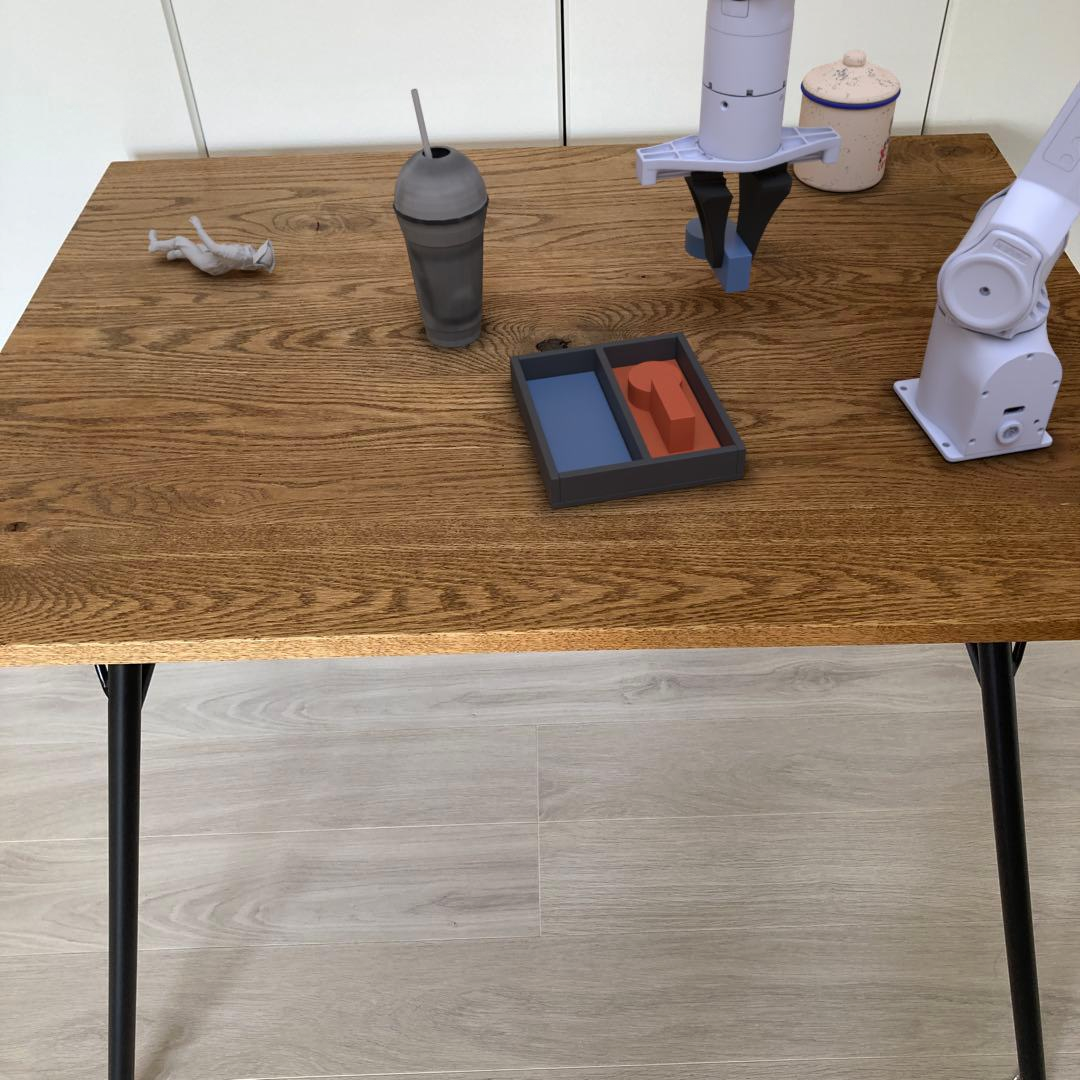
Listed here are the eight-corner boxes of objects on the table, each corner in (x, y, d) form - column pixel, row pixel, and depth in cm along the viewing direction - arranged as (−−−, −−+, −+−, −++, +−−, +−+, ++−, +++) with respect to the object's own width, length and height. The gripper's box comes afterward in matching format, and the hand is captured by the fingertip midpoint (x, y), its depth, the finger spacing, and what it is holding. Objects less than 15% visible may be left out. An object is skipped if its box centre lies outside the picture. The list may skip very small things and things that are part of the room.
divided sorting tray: (743, 479, 82) (746, 448, 80) (552, 509, 80) (551, 479, 78) (680, 360, 93) (682, 331, 91) (511, 385, 91) (509, 355, 89)
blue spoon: (763, 288, 89) (767, 252, 87) (711, 295, 88) (714, 259, 86) (726, 232, 95) (729, 198, 93) (678, 239, 95) (680, 204, 93)
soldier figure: (197, 250, 110) (300, 228, 105) (195, 301, 110) (299, 281, 104) (134, 222, 103) (241, 197, 98) (132, 276, 103) (239, 254, 97)
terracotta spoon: (708, 447, 84) (711, 413, 81) (653, 456, 83) (655, 422, 81) (672, 377, 90) (674, 343, 88) (621, 384, 89) (622, 351, 87)
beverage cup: (486, 361, 94) (467, 114, 80) (398, 353, 95) (365, 108, 81) (506, 312, 99) (492, 72, 85) (422, 305, 100) (395, 68, 86)
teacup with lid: (899, 190, 112) (921, 67, 105) (805, 198, 112) (821, 75, 104) (858, 137, 121) (876, 20, 113) (771, 145, 121) (784, 27, 113)
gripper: (824, 48, 84) (801, 223, 93) (626, 70, 82) (622, 246, 91) (863, 86, 79) (834, 267, 88) (652, 110, 77) (646, 292, 86)
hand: (728, 259), depth 89 cm, fingers closed on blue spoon, 2 cm apart
